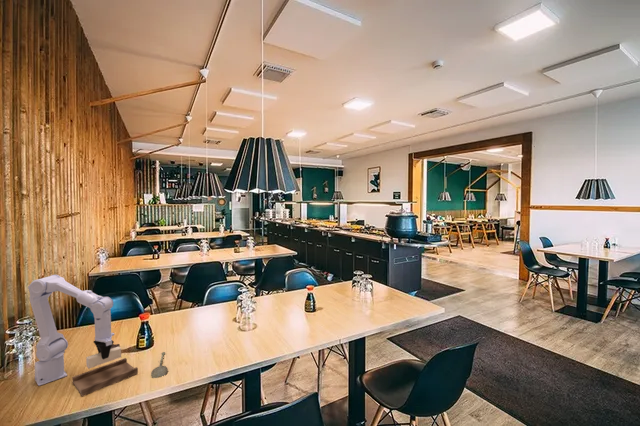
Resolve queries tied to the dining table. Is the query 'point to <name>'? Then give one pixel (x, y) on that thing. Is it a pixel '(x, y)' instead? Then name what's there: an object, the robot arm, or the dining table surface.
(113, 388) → the dining table surface
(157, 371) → the soupspoon
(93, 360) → the clay bar
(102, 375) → the tray
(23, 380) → the dining table surface
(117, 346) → the ice cream bar
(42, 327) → the robot arm
